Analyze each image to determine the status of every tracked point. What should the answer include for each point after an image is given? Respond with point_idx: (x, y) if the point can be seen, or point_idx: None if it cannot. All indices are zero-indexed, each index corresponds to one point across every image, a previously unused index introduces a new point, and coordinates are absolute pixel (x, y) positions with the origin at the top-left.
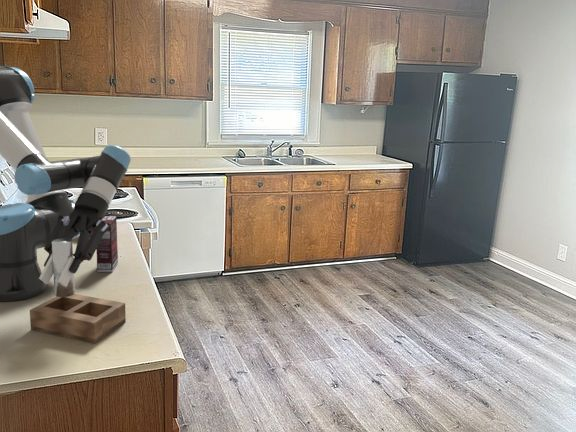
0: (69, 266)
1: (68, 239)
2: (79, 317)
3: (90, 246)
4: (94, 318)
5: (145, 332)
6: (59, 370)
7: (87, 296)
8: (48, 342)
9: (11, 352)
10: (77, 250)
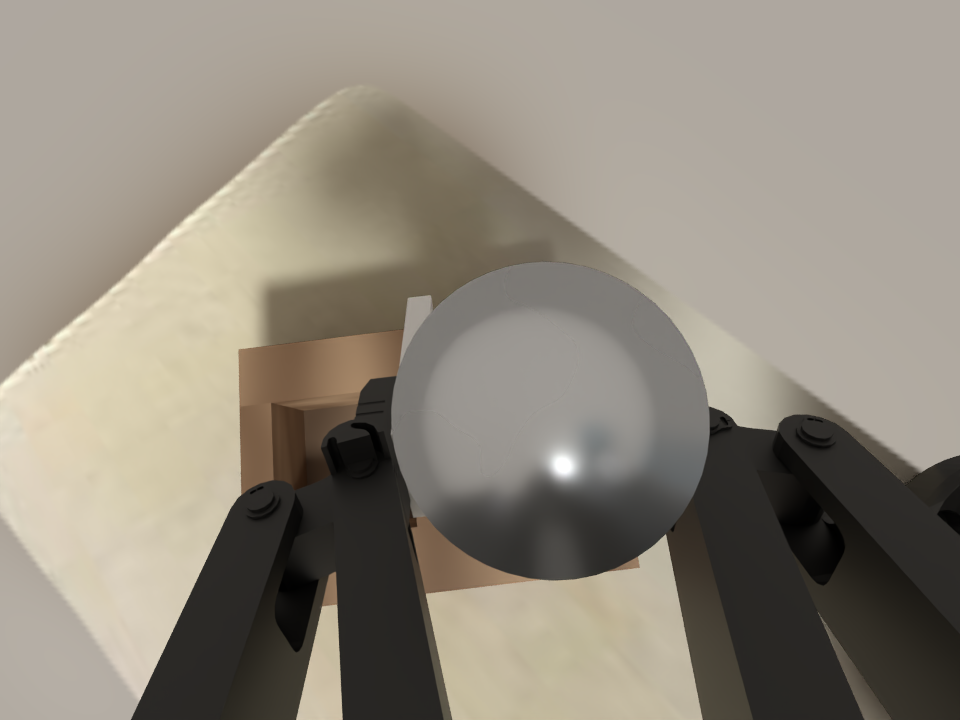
0: None
1: (536, 543)
2: (335, 359)
3: (181, 620)
4: (267, 384)
5: (158, 544)
6: (269, 184)
7: (484, 581)
8: (439, 293)
9: (490, 188)
10: (371, 513)
